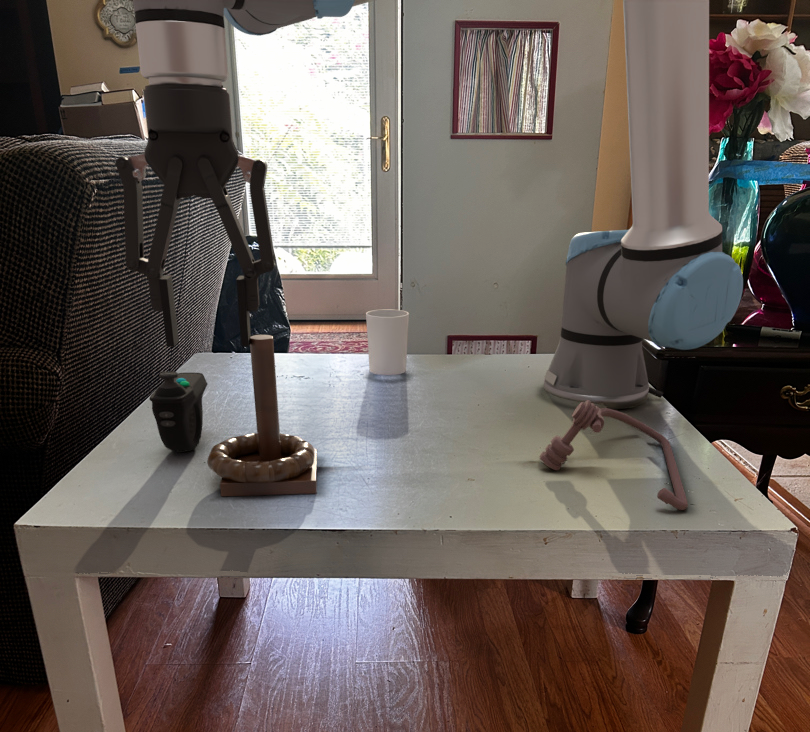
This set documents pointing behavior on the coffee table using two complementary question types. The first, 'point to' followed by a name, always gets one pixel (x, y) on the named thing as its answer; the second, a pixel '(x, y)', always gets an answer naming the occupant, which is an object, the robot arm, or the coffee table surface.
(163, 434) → the controller
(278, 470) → the ring
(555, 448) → the toilet paper hanger
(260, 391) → the stand
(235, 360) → the coffee table surface
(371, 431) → the coffee table surface
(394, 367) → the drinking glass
